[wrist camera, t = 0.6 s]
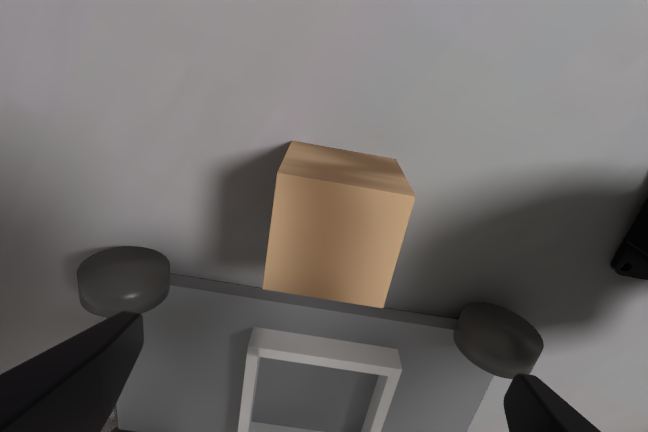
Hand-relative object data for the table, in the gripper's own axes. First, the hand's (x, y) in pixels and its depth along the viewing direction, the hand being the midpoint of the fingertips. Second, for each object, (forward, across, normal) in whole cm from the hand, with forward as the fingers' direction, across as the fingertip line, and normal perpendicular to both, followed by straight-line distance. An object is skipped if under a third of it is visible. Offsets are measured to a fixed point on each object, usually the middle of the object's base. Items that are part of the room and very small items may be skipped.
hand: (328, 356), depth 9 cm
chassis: (+11, 0, +12) cm, 16 cm away
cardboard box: (+11, 0, 0) cm, 11 cm away
